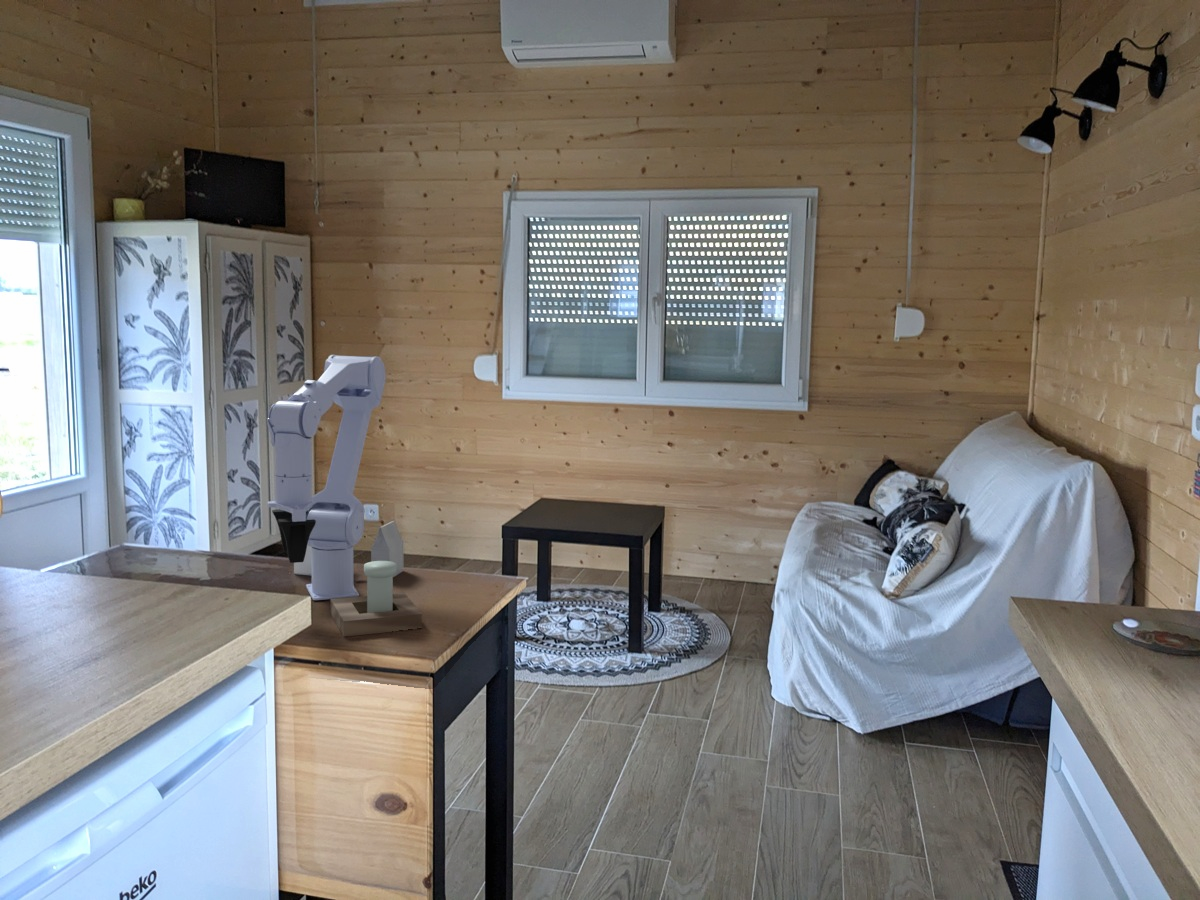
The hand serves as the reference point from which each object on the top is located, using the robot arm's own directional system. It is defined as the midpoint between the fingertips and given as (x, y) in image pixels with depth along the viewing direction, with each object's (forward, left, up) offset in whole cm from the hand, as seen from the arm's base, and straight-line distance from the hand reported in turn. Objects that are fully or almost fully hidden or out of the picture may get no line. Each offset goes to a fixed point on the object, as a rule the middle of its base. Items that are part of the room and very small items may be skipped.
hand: (293, 556), depth 163 cm
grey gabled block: (-22, +20, -11) cm, 32 cm away
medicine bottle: (-28, +8, -11) cm, 31 cm away
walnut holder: (+6, +12, -10) cm, 17 cm away
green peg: (+6, +13, -10) cm, 18 cm away
